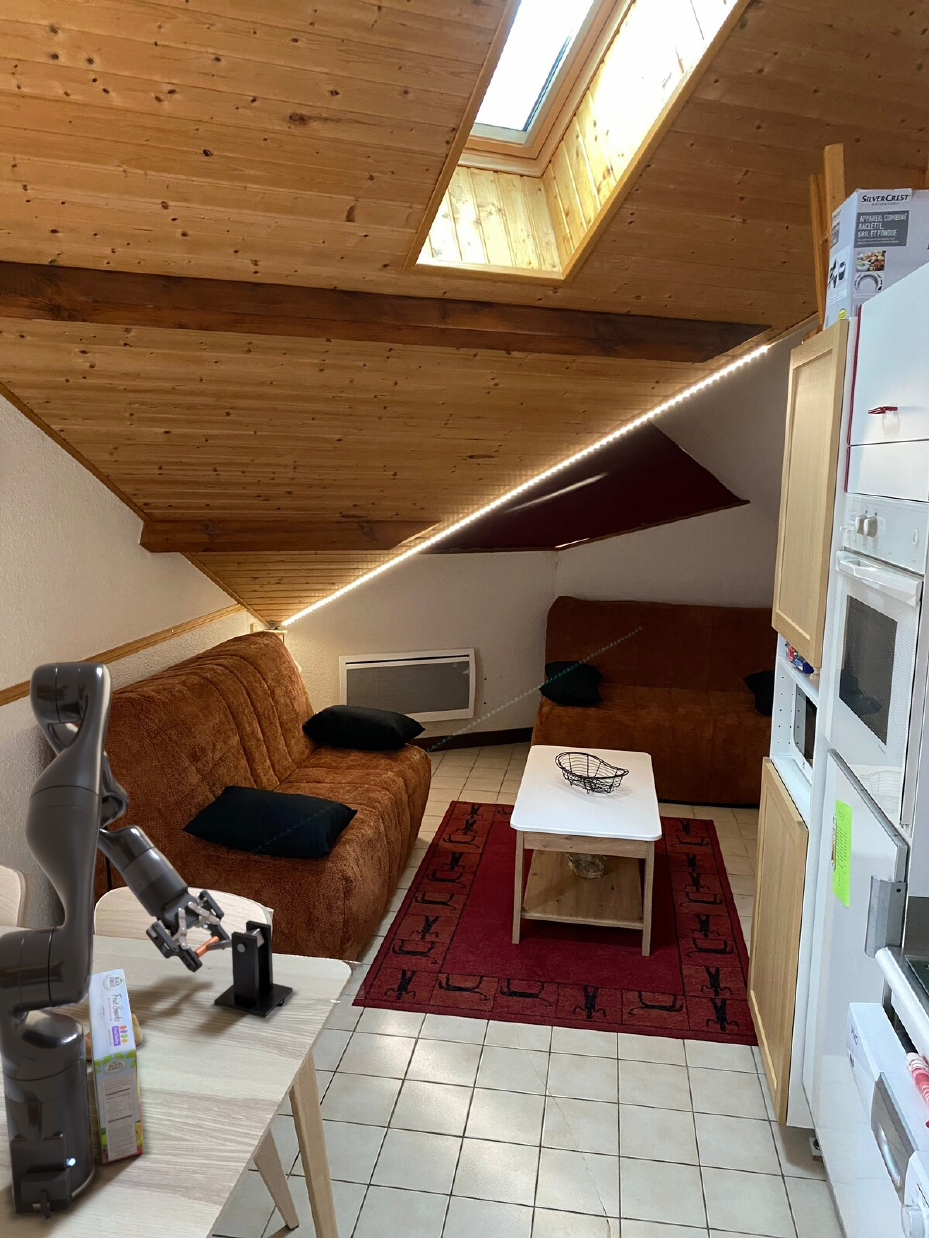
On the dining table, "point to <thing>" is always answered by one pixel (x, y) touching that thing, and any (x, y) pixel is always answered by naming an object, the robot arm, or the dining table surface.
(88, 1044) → the pastry
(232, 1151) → the dining table surface
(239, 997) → the bracket
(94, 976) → the snack box
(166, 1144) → the dining table surface
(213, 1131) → the dining table surface
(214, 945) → the lever
